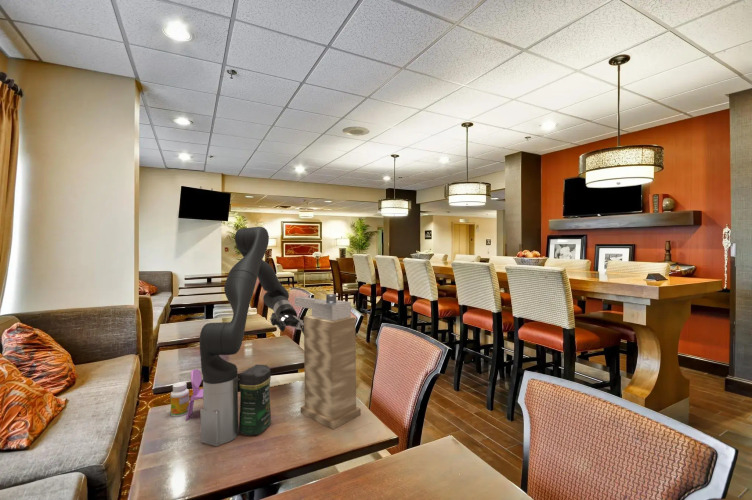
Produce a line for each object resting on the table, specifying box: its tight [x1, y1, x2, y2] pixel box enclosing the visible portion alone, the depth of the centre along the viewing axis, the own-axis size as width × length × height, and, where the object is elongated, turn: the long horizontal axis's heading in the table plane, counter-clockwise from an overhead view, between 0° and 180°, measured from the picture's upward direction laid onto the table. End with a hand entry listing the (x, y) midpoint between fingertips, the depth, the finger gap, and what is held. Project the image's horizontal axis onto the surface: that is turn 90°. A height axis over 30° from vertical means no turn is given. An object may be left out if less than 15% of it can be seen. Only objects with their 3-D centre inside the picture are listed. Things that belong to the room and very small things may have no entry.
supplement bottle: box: [170, 381, 190, 418], centre depth 116 cm, size 5×5×10 cm
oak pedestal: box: [300, 314, 362, 430], centre depth 115 cm, size 16×12×32 cm
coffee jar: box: [238, 364, 272, 436], centre depth 106 cm, size 10×8×19 cm
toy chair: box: [185, 368, 203, 422], centre depth 115 cm, size 8×9×15 cm
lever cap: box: [294, 293, 352, 322], centre depth 118 cm, size 23×8×7 cm, turn 48°
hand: (295, 331), depth 123 cm, fingers open, 8 cm apart
